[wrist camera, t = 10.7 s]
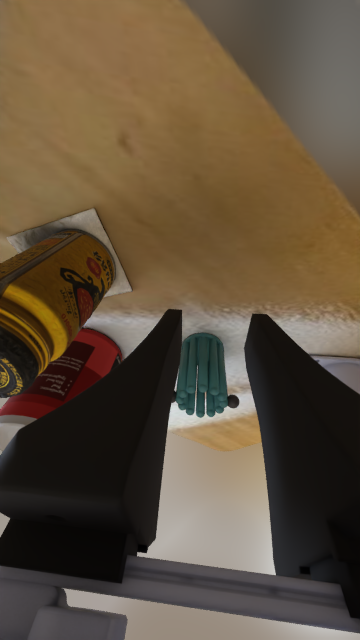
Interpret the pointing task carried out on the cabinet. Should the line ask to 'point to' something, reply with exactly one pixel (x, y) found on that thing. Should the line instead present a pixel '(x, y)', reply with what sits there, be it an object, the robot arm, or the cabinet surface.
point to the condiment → (52, 294)
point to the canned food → (60, 381)
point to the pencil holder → (203, 376)
